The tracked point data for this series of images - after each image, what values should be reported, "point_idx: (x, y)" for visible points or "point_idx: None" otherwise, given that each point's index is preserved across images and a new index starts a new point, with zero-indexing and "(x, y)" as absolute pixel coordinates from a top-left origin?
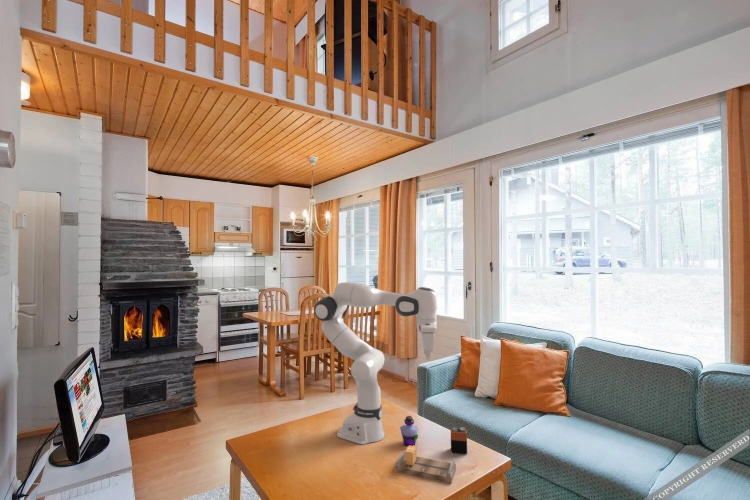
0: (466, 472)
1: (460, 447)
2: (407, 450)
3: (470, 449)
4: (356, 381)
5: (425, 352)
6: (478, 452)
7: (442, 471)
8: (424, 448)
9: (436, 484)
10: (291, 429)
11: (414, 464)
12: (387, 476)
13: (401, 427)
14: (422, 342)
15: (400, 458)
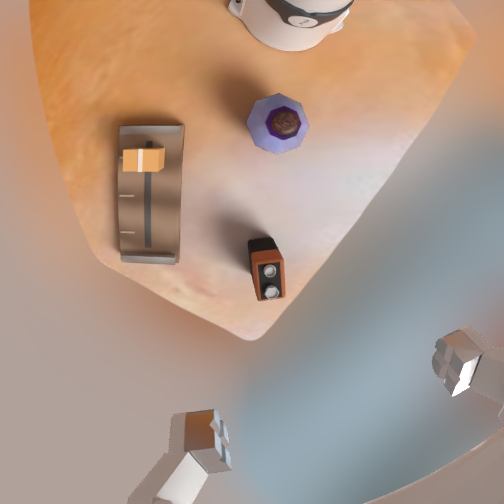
0: (175, 279)
1: (251, 268)
2: (129, 153)
3: None
4: None
5: (147, 491)
6: None
7: (137, 238)
8: (254, 169)
9: (109, 227)
10: None
11: None
12: (101, 115)
13: (275, 98)
14: (470, 492)
15: (142, 130)
